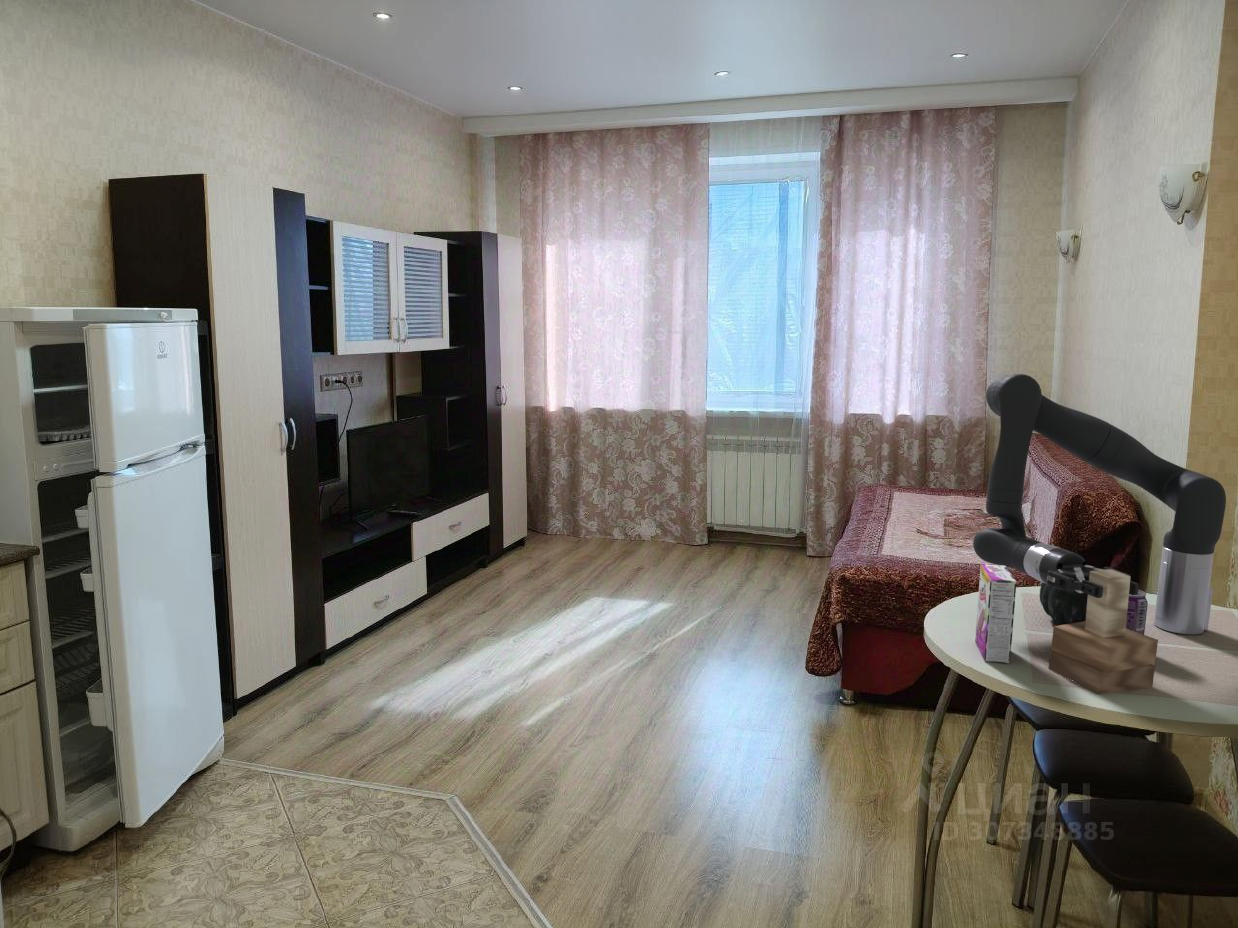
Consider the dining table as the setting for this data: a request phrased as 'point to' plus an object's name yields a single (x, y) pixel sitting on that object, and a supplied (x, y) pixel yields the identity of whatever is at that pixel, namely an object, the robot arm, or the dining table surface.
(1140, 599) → the beverage can
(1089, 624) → the birch block
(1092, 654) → the upper slab
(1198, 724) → the dining table surface
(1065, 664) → the lower slab
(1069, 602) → the squash
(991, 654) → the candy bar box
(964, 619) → the dining table surface
